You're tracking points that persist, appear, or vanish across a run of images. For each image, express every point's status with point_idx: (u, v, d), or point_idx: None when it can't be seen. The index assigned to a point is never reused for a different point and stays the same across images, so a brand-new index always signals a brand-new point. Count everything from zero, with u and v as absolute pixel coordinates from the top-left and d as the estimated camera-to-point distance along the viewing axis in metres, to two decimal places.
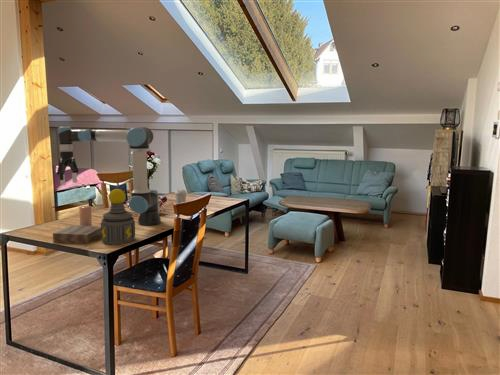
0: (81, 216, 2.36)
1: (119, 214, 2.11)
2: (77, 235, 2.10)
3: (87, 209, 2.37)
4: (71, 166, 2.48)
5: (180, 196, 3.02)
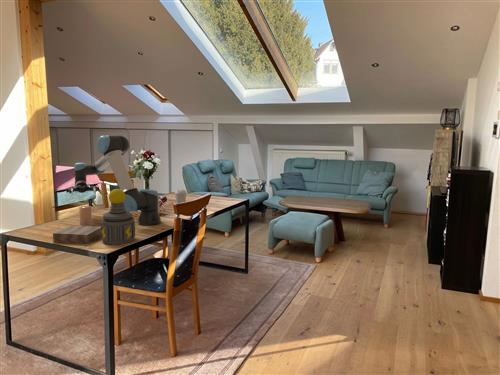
0: (81, 216, 2.36)
1: (119, 214, 2.11)
2: (77, 235, 2.10)
3: (87, 209, 2.37)
4: (88, 188, 2.57)
5: (180, 196, 3.02)
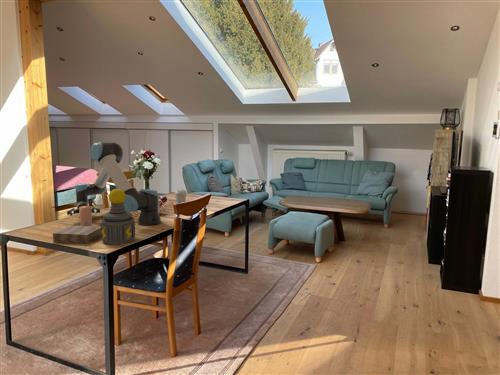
0: (81, 216, 2.37)
1: (119, 214, 2.11)
2: (77, 235, 2.10)
3: (87, 209, 2.37)
4: None
5: (180, 196, 3.02)
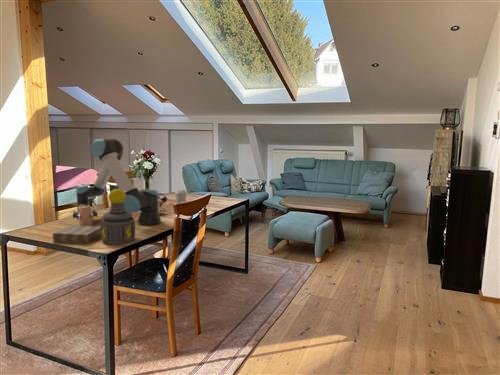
0: (81, 216, 2.37)
1: (119, 214, 2.11)
2: (77, 235, 2.10)
3: (87, 209, 2.37)
4: None
5: (180, 196, 3.02)
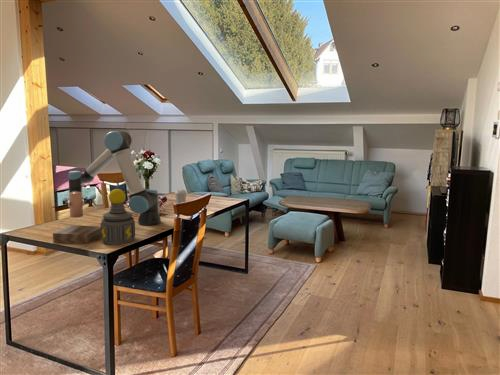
0: (71, 202, 2.18)
1: (119, 214, 2.11)
2: (77, 235, 2.10)
3: (77, 195, 2.18)
4: None
5: (180, 196, 3.02)
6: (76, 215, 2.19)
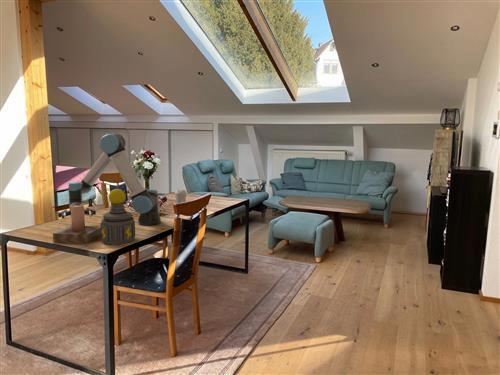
0: (73, 216, 2.14)
1: (119, 214, 2.11)
2: (77, 235, 2.10)
3: (79, 208, 2.15)
4: None
5: (180, 196, 3.02)
6: (78, 228, 2.16)
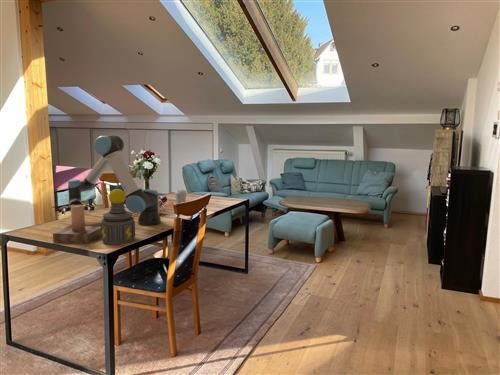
0: (73, 216, 2.15)
1: (119, 214, 2.11)
2: (77, 235, 2.10)
3: (80, 208, 2.15)
4: None
5: (180, 196, 3.02)
6: (78, 228, 2.16)
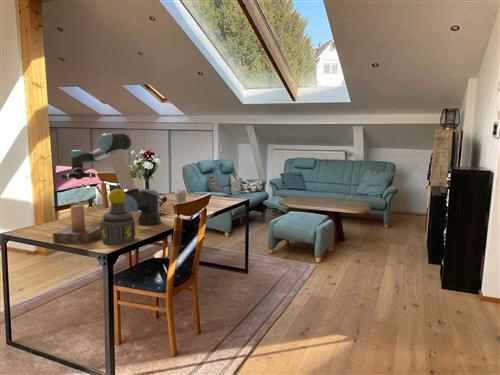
0: (73, 216, 2.14)
1: (119, 214, 2.11)
2: (77, 235, 2.10)
3: (79, 208, 2.15)
4: (84, 174, 2.54)
5: (180, 196, 3.02)
6: (78, 228, 2.16)
